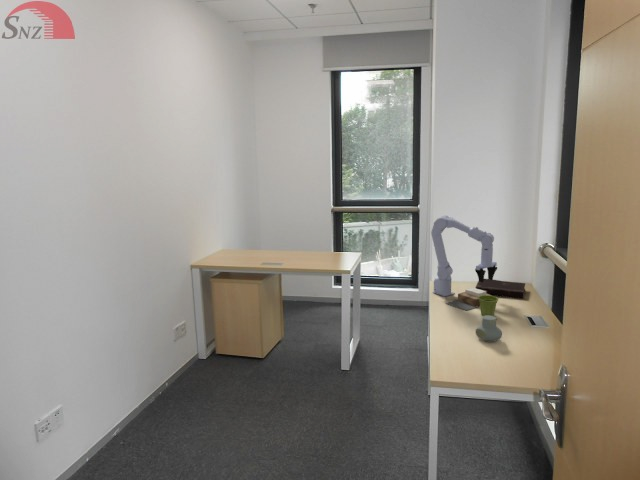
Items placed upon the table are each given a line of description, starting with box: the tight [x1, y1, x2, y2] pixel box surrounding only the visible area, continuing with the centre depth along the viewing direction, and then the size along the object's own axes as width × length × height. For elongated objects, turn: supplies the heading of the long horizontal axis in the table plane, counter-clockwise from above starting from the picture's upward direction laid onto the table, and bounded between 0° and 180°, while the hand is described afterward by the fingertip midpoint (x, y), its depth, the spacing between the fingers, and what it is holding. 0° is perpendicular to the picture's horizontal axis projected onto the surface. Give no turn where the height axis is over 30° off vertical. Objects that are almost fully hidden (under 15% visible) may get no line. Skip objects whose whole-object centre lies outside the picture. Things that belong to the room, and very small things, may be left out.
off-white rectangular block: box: [464, 287, 486, 297], centre depth 254 cm, size 9×6×2 cm, turn 33°
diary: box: [475, 278, 526, 300], centre depth 269 cm, size 19×25×5 cm
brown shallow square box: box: [457, 291, 491, 308], centre depth 254 cm, size 12×12×4 cm
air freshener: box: [475, 315, 503, 343], centre depth 205 cm, size 11×8×10 cm
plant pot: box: [478, 295, 499, 317], centre depth 233 cm, size 9×9×9 cm
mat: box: [445, 299, 478, 312], centre depth 248 cm, size 14×8×1 cm, turn 33°
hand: (485, 280), depth 255 cm, fingers open, 7 cm apart
